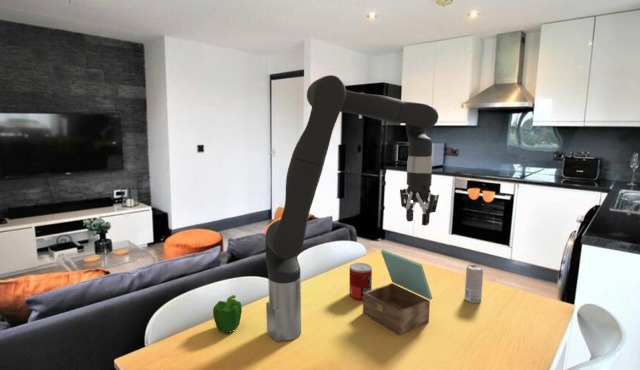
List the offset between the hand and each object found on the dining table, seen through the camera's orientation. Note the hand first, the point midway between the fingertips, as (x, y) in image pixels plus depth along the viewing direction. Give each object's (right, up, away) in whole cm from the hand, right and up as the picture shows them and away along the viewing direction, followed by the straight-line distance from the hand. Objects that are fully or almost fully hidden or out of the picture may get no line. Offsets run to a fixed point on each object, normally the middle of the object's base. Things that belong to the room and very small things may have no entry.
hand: (417, 222), depth 118 cm
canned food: (-17, -28, +15) cm, 36 cm away
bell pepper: (-59, -31, -7) cm, 67 cm away
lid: (-4, -16, 0) cm, 17 cm away
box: (-7, -30, -1) cm, 31 cm away
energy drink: (+22, -28, +11) cm, 38 cm away
